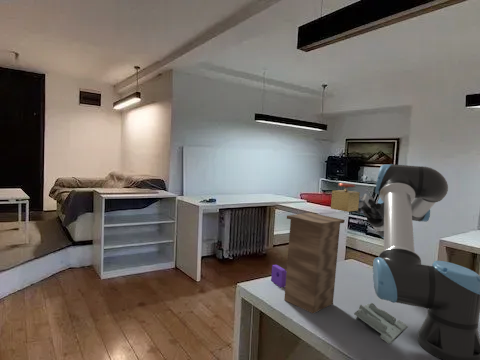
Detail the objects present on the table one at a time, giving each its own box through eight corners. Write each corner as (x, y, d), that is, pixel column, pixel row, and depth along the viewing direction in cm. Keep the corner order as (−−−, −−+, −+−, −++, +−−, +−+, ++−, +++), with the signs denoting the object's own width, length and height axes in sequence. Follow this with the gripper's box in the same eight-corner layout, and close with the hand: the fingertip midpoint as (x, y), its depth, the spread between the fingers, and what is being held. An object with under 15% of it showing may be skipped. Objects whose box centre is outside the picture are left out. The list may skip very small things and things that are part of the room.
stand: (304, 290, 124) (310, 212, 122) (336, 304, 114) (344, 219, 111) (280, 299, 114) (286, 215, 112) (313, 315, 104) (321, 223, 102)
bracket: (280, 288, 125) (282, 270, 125) (270, 281, 131) (272, 265, 131) (305, 284, 131) (306, 267, 131) (294, 278, 137) (295, 262, 137)
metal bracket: (350, 308, 99) (370, 295, 109) (343, 324, 100) (364, 310, 111) (396, 341, 89) (413, 324, 100) (388, 358, 91) (406, 339, 102)
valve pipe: (360, 205, 141) (362, 182, 140) (376, 207, 136) (378, 184, 135) (330, 208, 124) (332, 183, 124) (347, 211, 119) (349, 185, 119)
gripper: (395, 231, 138) (377, 207, 124) (356, 223, 151) (336, 200, 137) (400, 215, 140) (383, 190, 126) (362, 209, 153) (342, 185, 139)
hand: (358, 195), depth 131 cm, fingers closed on valve pipe, 4 cm apart
